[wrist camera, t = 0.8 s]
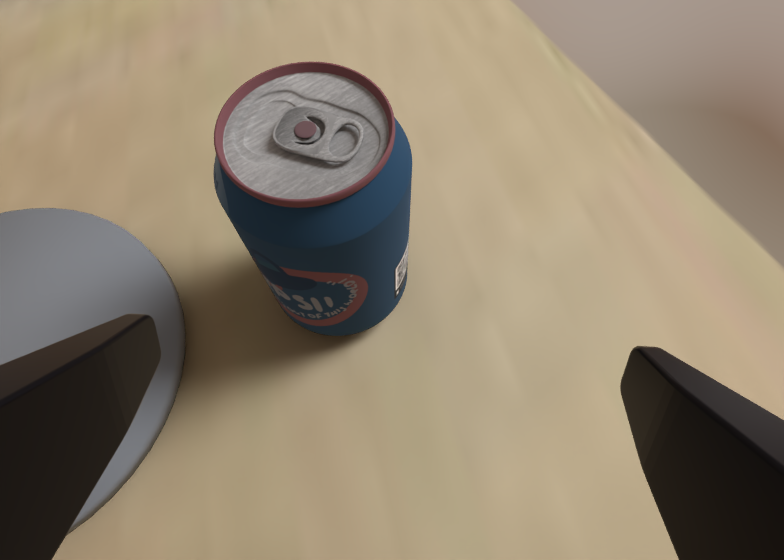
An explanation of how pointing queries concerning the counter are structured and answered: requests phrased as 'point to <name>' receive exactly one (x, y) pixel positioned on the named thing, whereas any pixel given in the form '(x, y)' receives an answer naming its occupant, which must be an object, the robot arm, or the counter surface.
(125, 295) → the rubber mat
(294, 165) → the soda can
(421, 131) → the counter surface
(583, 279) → the counter surface
